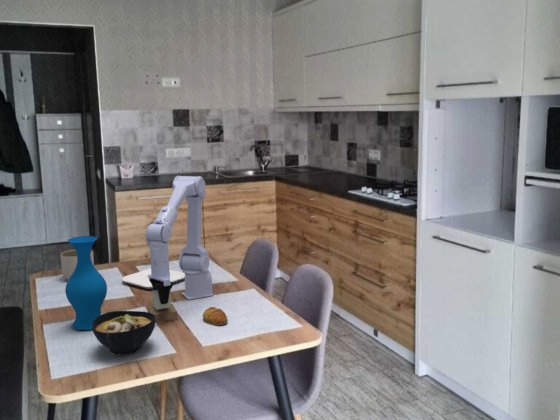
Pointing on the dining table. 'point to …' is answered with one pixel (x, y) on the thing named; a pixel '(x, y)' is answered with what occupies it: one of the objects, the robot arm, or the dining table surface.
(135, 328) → the bowl
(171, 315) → the base block
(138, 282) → the plate
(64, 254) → the planter
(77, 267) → the vase
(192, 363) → the dining table surface
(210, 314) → the pastry
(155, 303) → the green block
